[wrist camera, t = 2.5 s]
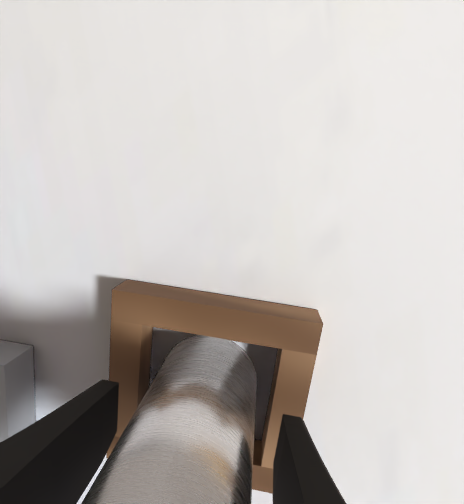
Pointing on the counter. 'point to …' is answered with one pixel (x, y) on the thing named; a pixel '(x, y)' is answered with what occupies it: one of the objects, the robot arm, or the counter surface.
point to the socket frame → (219, 326)
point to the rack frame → (16, 388)
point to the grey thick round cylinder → (188, 432)
